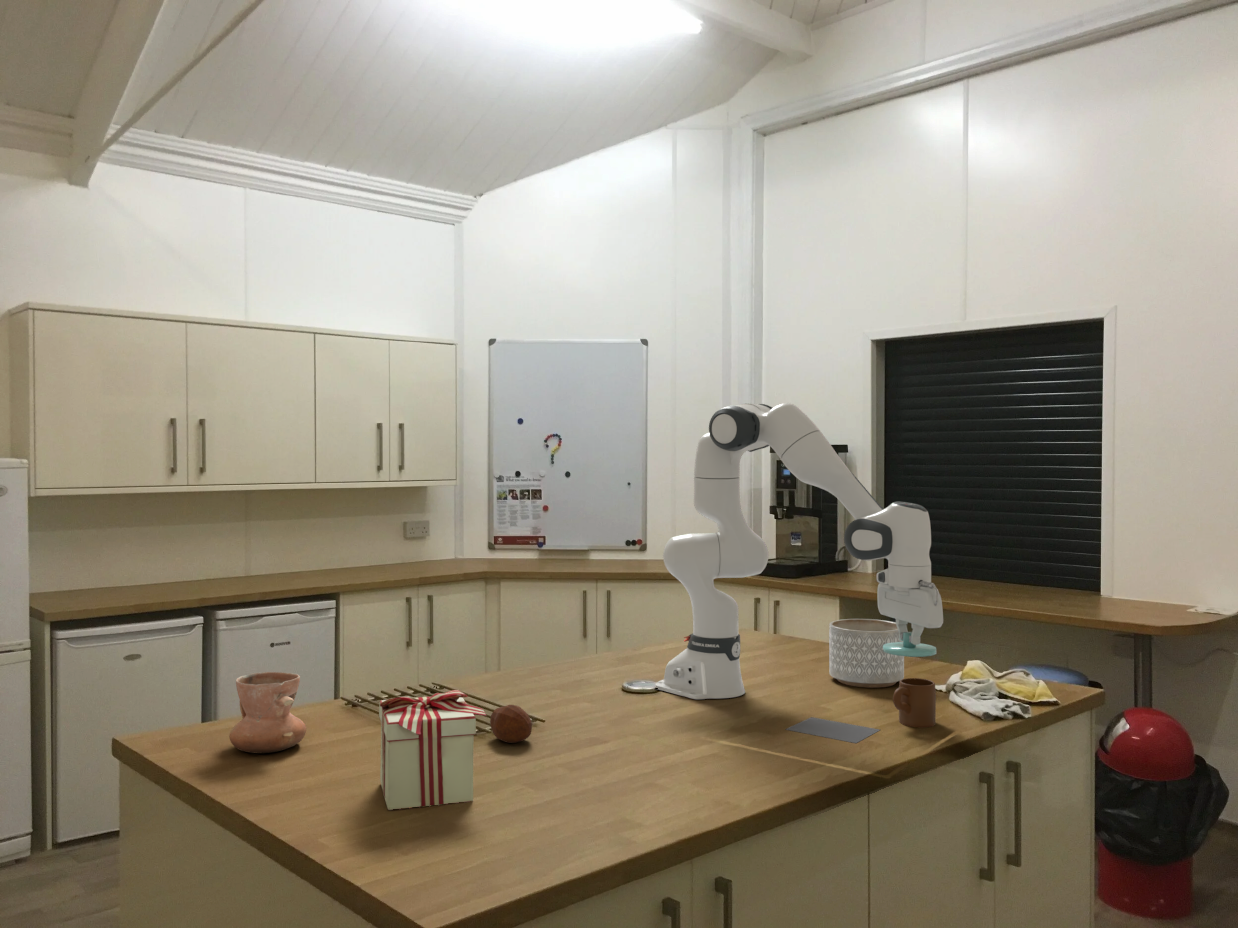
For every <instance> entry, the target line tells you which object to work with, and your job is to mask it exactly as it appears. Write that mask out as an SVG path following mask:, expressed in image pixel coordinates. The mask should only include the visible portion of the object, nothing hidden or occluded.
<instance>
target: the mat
mask: <svg viewBox="0 0 1238 928" xmlns="http://www.w3.org/2000/svg"><path fill="white" fill-rule="evenodd" d="M785 730H786V731H790V732H795V733H801V734H806V735H810V736H817V737H820V738H826V739H831V740H836V741H841V742H846V743H847V742H848V743H852V744H858V743H860V742H861V741H864V740H866V739H867V738H869V737H871V736H873V735H874V734H876V733H878V732H879V731H881V729H878V728H874V727H869V726H863V725H858V724H857V725H856V724H852V723H846V722H841V721H835V720H830V719H823V718H820V717H819V718H818V717H814V716H813V717H812V716H811V717H808V718H807V719H805V720H801V721H800V722H798V723H796V724H794V725H791V726H789V727H788V728H785Z"/></svg>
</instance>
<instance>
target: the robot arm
mask: <svg viewBox="0 0 1238 928" xmlns="http://www.w3.org/2000/svg"><path fill="white" fill-rule="evenodd" d="M709 420H710V421H709V422H708V423H709V425H708V432H706V433H705V434H703V435H702V436H701V437H700V438H699V439H698V442H697V446H696V447H697V448H696V453H695V459H694V470H693V471H694V473H693V506H694V509H695V510H696V512H697V513H698V514H699V515H701V516H703V517H704V518H706V519H708V520H710V521H712V522H714V523H716V524H717V527H718V528H717V531H718V532H704V533H703V532H700V533H698V532H693V533H692V532H691V533H690V532H689V533H685V534H680V535H675V536H672V537H670V538H669V539H668V540H667V542H666V543H665V546H664V548H663V552H662V553H663V554H662V558H663V560H662V561H663V564H664V567H665V568H666V570H667V572H668V573H669V574H671V575H672V576H673V577H674V578H675V579H676V580H677V581H679V582H680V583H681V584H682V586H683V587H684V588H685V591H686V592H687V594H688V596H689V598H690V602H691V611H692V623H693V624H692V630H693V631H692V633H690V634H689V635H688V636H684V637H683V639H684V640H683V642H685V643H686V642H687V645H686V648H685V649H683V651H681V652H680V653H679V654H677V655H676V656H675V657H673V658H672V659H670V660H669V661H668V663H667V664H666V665H665V669H664V676H663V679H660V680H659V681H656V683H654V684H655V686H656V687H657V688H658V689H657V690H659V691H662V692H663V691H664V692H667V693H669V694H670V693H671V694H674V695H678V696H682V697H684V698H685V697H686V698H689V699H693V700H705V699H707V700H708V699H729V698H730V699H731V698H736V697H741V696H742V695H745V693H746V690H745V687H744V682H743V678H742V673H741V672H742V671H741V663H740V655H741V634H739V605H738V602H737V601H736V599H734V597H733V596H731V595H729V594H728V593H726V592H724V591H723V590H720V589H717V588H716V587H715V583H714V580H715V579H723V578H725V579H728V578H729V579H731V578H734V579H735V578H736V579H738V578H741V579H743V578H745V577H746V578H747V577H752V576H757V575H760V574H762V572H763V571H764V570H765V569H766V567H767V564H768V562H769V556H770V555H769V549H768V546H767V544H766V542H765V540H764V539H763V538H762V537H761V536H760V535H759V534H757V533H756V532H755V531H753V529H752V528H751V527H750V526H749V525H748V523H747V521H746V519H745V517H744V515H743V514H744V513H743V511H742V505H741V495H740V494H741V492H740V490H741V489H740V480H741V479H740V476H741V475H740V474H741V473H740V472H741V471H740V466H741V465H740V463H741V458H742V457H743V455H744V453H746V452H750V453H752V452H755V451H758V450H761V449H765V448H768V447H770V448H772V450H773V451H774V453H775V454H776V455H777V457H778V458H779V459H780V460H781V462H782V463H783V465H784V466H785V468H786V469H787V470H788V471H789V472H790V473H791V474H792V475H793V476H794V477H795V478H797V480H799V481H800V482H801V483H804V484H806V485H810V486H814V487H817V488H819V489H822V490H824V491H826V492H828V493H829V494H831V495H832V496H834V497H835V498H837V500H838V501H839V502H840V503H841V505H843V506H844V509H846V510H847V512H848V513H849V514H850V515H851V516H852V518H854V520H853V521H851V522H850V523H849V524H848V525H847V527H846V528H845V531H844V534H843V541H844V546H845V548H846V550H847V551H848V553H849V554H850V556H852V557H854V558H855V559H857V560H862V561H867V562H869V561H876V560H882V559H886V560H887V562H888V564H887V565H888V567H887V568H886V569H883V570H881V571H878V572H877V573H876V582H877V583H878V585H877V589H876V590H877V608H878V612H879V613H880V615H883V616H884V617H885V616H886V617H889V618H892V619H895V623H896V626H897V629H898V631H899V640H901V641H903V632H909V631H908V623H909V624H911V629H912V630H911V632H912V635H909V643H910V644H913V645H919V644H920V643H921V636H922V634H923V631H924V629H925V628H926V629H938V628H939V629H940V628H942V626H943V624H944V612H943V611H944V610H943V602H942V596H941V594H940V592H939V589H938V588H937V586H936V585H935V583H934V582H932V561H931V558H930V551H931V547H932V529H931V520H930V514H929V511H928V510H927V509H926V508H925V507H924V506H923V505H921V504H918V503H913V502H909V501H908V502H907V501H894V502H892V503H890V504H889V505H888V506H887V507H885V508H884V507H883V506H881V504H880V503H879V502H878V501H877V500H876V499H875V498H874V496H872V494H871V493H870V492H869V491H868V489H866V487H865V486H864V485H863V484H862V483H861V481H860V480H859V479H858V478H857V477H856V476H855V474H854V473H853V472H852V471H851V470H850V469H849V467H848V466H847V465H846V464H845V463H844V461H843V460H842V458H841V457H840V456H839V455H838V453H837V452H836V451H835V449H834V447H833V446H832V445H831V443H830V442H829V440H828V439H827V437H826V436H824V434H823V433H822V432H821V430H820V429H819V427H818V426H817V425H816V424H815V423H814V422H813V420H812V419H811V418H810V417H809V416H808V415H807V414H806V413H805V412H804V411H802V409H800V408H799V406H797V405H795V404H794V403H791V402H783V403H780V404H777V405H774V406H770V405H768V404H765V403H764V404H763V403H759V404H757V403H742V404H736V405H728V406H725V407H721V408H720V409H718V410H717V411H715V413H713V414H712V416H711V418H710V419H709ZM655 686H654V687H655Z"/></svg>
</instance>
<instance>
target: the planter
mask: <svg viewBox="0 0 1238 928" xmlns="http://www.w3.org/2000/svg"><path fill="white" fill-rule="evenodd" d="M828 625H829V626H828V627H829V636H828V638H829V640H828V641H829V645H828V646H829V647H828V648H829V649H828V650H829V652H828V653H829V655H828V656H829V661H828V662H829V663H828V664H829V665H828V667H829V672H828V673H829V676H831V678H834V679H836V681H837V682H839V683H841V684H843V685H847V686H851V687H859V688H886V687H892V686H894V685H896V683H897V682H900V680H902V679H905V656H898V655H893V654H888V653H886V652H884V651H883V645H884V644H886V643H893V642H903V641H901V640H899V631H898V629H897V626H896V621H890V620H883V619H882V620H881V619H876V618H875V619H874V618H873V619H872V618H847V619H846V618H845V619H837V620H836V619H835V620H833V621H830V622H829V624H828Z"/></svg>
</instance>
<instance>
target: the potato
mask: <svg viewBox="0 0 1238 928" xmlns="http://www.w3.org/2000/svg"><path fill="white" fill-rule="evenodd" d="M489 723H490V728H491V731H492V734H493V735H494V737H495V738H497V739H498V740H500V741H503V742H505V743H508V744H515V743H520V742H523V741H525V740H527V739H528V738H529V737H530V736H531V734H532V730H533V729H532V728H533V724H532V718H530V716H529V714H528V713H527V712H526V710H525V709H523V708H522V707H520V706H519V705H514V704H506V705H505V706H500V707H496V708H495V709H494V710H493V711H492V712H491V715H490V719H489Z"/></svg>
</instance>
